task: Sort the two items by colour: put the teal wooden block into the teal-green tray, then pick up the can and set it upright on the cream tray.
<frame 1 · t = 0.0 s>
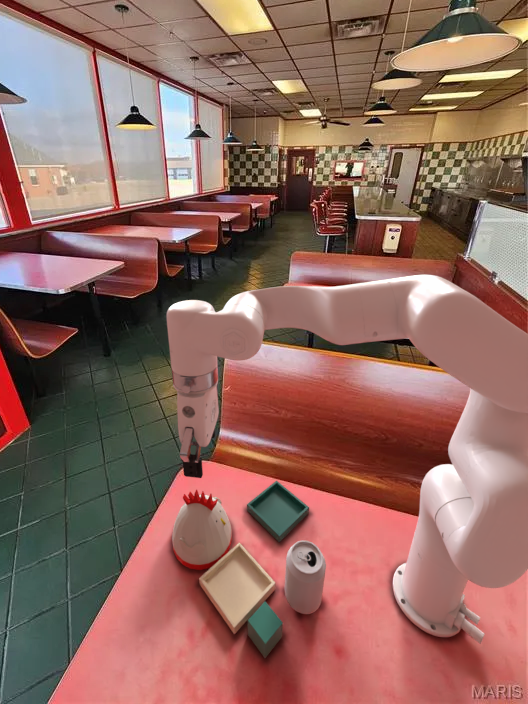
hand: (200, 454, 61), 31 cm above the table, tool pointing down, fingers open, 9 cm apart
green tray: (277, 511, 84), on the table
cream tray: (237, 586, 68), on the table
can: (302, 595, 67), on the table
block: (264, 635, 61), on the table
kitchen timer: (202, 539, 78), on the table
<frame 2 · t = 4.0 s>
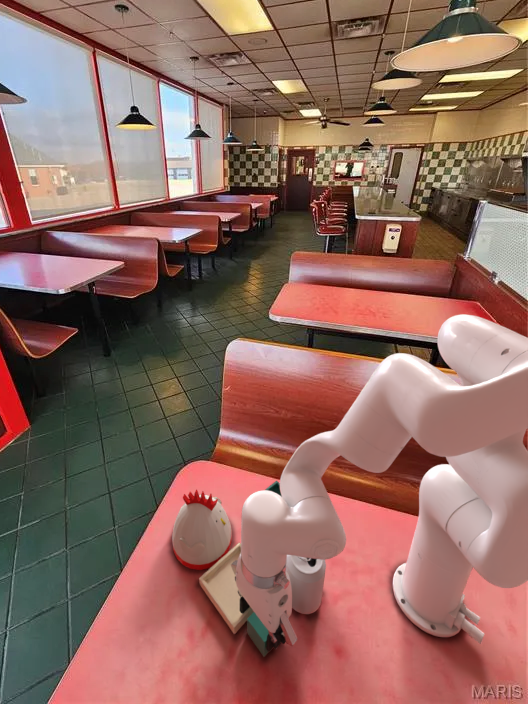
hand: (259, 624, 61), 2 cm above the table, tool pointing down, fingers open, 6 cm apart
block: (264, 634, 61), on the table, touching gripper
everything else where it was.
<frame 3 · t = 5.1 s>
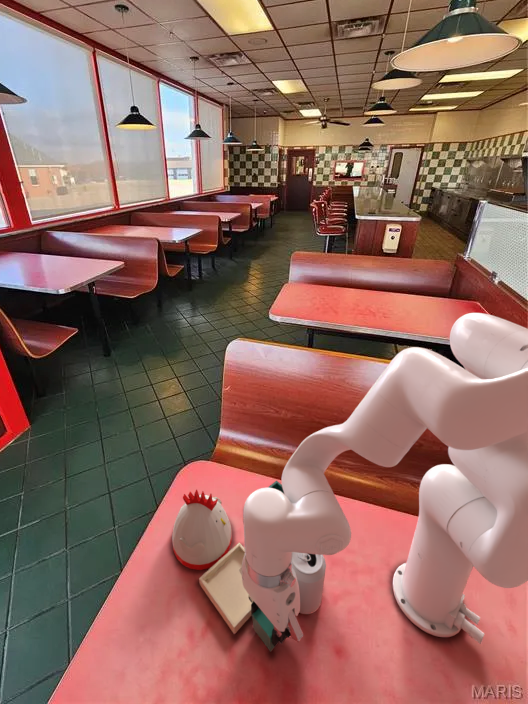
hand: (268, 624, 60), 3 cm above the table, tool pointing down, fingers closed on block, 4 cm apart
block: (270, 629, 61), point 1 cm above the table, touching gripper
everything else where it was.
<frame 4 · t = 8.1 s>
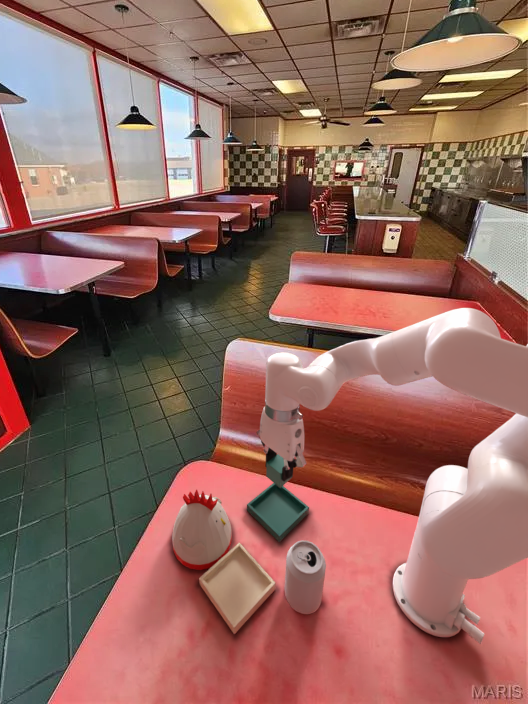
hand: (278, 470, 78), 14 cm above the table, tool pointing down, fingers closed on block, 4 cm apart
block: (279, 476, 79), point 12 cm above the table, touching gripper
everything else where it was.
when the fingers open (3 cm above the table, at t = 10.9 s): block stays where it is, resting on green tray.
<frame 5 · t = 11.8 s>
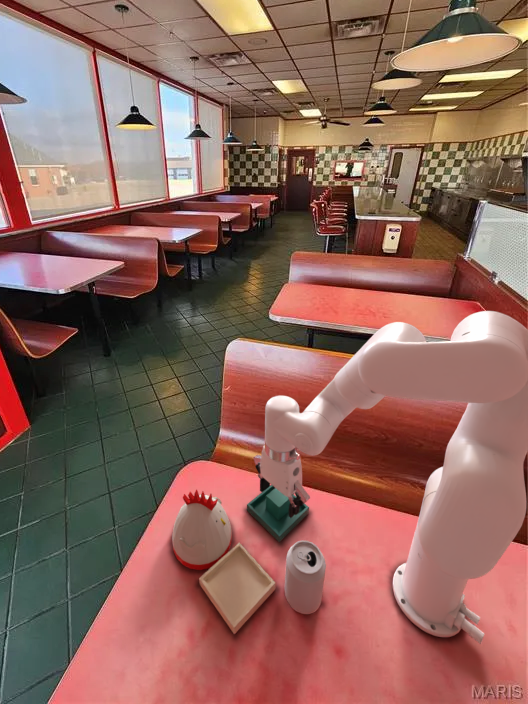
hand: (278, 500, 83), 4 cm above the table, tool pointing down, fingers open, 9 cm apart
block: (278, 509, 84), point 1 cm above the table, touching green tray
everything else where it was.
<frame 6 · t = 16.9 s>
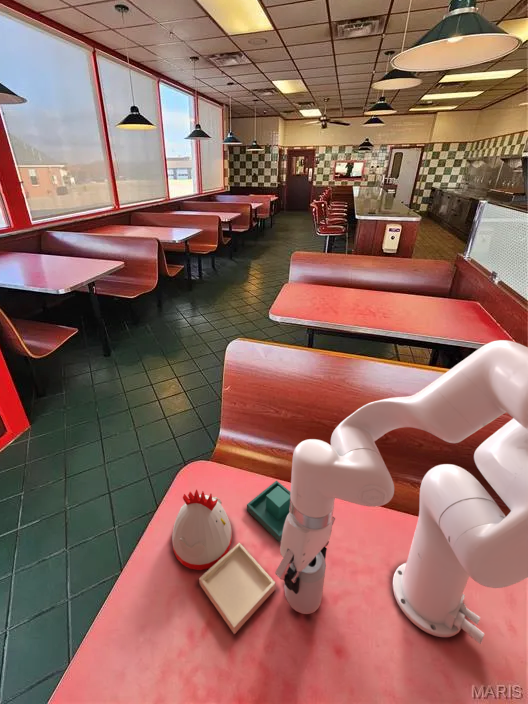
hand: (304, 570, 64), 8 cm above the table, tool pointing down, fingers closed on can, 7 cm apart
can: (302, 595, 67), on the table, touching gripper
everything else where it was.
when the fingers open (8 cm above the table, at t = 24.4 s): can stays where it is, resting on cream tray.
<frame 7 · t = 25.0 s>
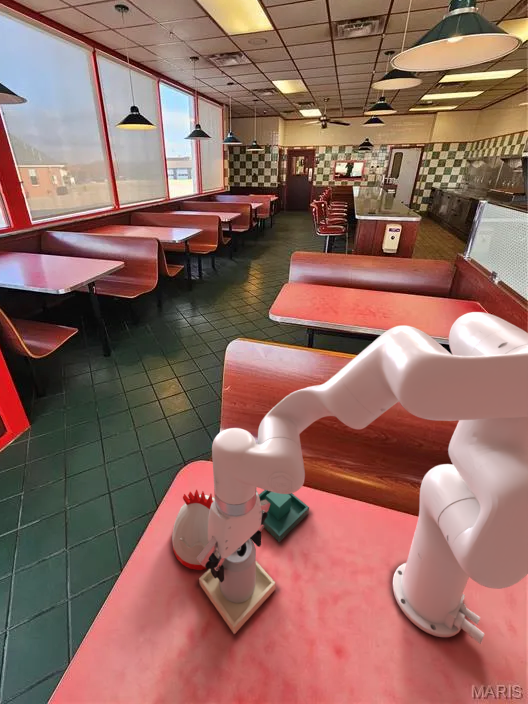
hand: (237, 557, 65), 9 cm above the table, tool pointing down, fingers open, 9 cm apart
can: (237, 585, 68), resting on cream tray
everything else where it was.
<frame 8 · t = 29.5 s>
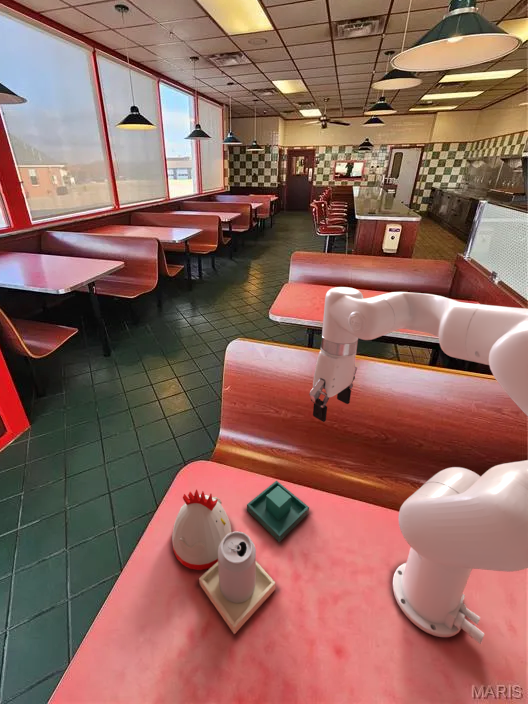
hand: (331, 409, 78), 28 cm above the table, tool pointing down, fingers open, 9 cm apart
nothing on the table moved.
at the end: block inside the target area in the green tray (0.3 cm from its centre), point 0.6 cm above the green tray's base; can inside the target area in the cream tray (0.1 cm from its centre), point 0.4 cm above the cream tray's base; can tilted 0° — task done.
